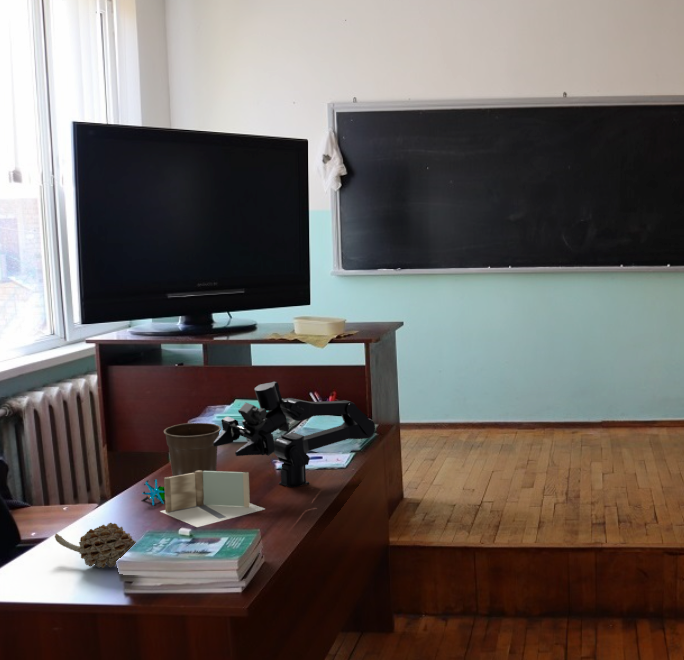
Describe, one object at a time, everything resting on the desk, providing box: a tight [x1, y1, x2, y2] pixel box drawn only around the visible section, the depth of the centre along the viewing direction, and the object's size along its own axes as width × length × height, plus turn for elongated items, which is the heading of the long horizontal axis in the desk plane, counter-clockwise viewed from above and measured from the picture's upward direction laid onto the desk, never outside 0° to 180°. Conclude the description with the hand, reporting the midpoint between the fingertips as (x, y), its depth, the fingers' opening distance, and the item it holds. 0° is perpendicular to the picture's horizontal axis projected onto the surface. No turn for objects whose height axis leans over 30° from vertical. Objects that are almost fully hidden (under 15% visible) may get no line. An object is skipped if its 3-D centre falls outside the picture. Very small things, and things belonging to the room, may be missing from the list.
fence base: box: [163, 470, 204, 512], centre depth 255 cm, size 11×2×9 cm, turn 123°
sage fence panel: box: [203, 470, 251, 507], centre depth 255 cm, size 12×1×9 cm, turn 78°
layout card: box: [159, 502, 265, 528], centre depth 253 cm, size 21×18×1 cm
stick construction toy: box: [140, 479, 165, 507], centre depth 263 cm, size 12×7×8 cm
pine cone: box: [54, 522, 137, 569], centre depth 215 cm, size 22×10×10 cm, turn 71°
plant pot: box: [163, 422, 222, 488], centre depth 279 cm, size 16×16×16 cm
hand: (224, 449), depth 259 cm, fingers open, 9 cm apart
